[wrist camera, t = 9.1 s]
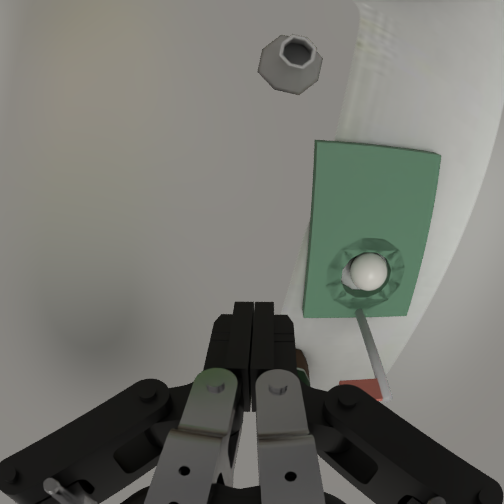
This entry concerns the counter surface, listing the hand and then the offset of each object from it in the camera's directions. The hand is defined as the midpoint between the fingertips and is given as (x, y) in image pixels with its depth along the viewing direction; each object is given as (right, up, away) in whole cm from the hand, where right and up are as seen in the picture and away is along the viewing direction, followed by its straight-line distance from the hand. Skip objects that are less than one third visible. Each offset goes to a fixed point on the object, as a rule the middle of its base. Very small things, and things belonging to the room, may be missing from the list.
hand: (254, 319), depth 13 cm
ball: (+15, 0, +28) cm, 32 cm away
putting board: (+15, +5, +28) cm, 32 cm away
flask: (+4, +24, +19) cm, 31 cm away
